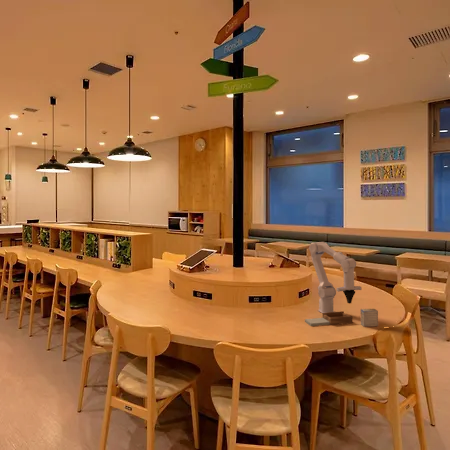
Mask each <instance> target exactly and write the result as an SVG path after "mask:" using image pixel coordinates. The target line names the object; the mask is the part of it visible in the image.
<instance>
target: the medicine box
mask: <svg viewBox="0 0 450 450" xmlns="http://www.w3.org/2000/svg"><path fill="white" fill-rule="evenodd" d="M360 325H361V326H362V327H365V328H366V327H379V310H378V309H376V308H360Z"/></svg>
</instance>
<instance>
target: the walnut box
mask: <svg viewBox="0 0 450 450" xmlns="http://www.w3.org/2000/svg"><path fill="white" fill-rule="evenodd" d="M322 318H324V319H326V320H327V321H329V322H330V326H334V325H335V326H336V325H344V324H345V325H347V323H348V324H353V315H348V314H347V313H345V311H344V310H343V311H341V310H340V311H334V312H328V313H322Z"/></svg>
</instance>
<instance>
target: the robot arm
mask: <svg viewBox="0 0 450 450" xmlns="http://www.w3.org/2000/svg"><path fill="white" fill-rule="evenodd" d="M308 251H309V252H310V258H311V261H312V264H313V267H314V268H313V269H314V270H315V273H316V277H317V279H318V282H319V285H318V286H317V290H318V292H317V293H318V297H319V300H318V309H317V311H318V312H320V313H321V314H323V313H328V312H335V311H334V298H335V296H336V295H337V292H343V294H344V296H345V298H346V302H347V304H352V301H353V298H354V296H355V294H356V291H362V286H360V285H358V286H357V285H355V268H356V267H357V262H356V260H355V259H354V258H353V257H349V256H347V255H345V254H343V252H342V251H336V250H334V248H331V246H329V244H328V243H326V242H325V241H319V242H317V241H316V242H311V243H310V245H309V247H308ZM325 253H326V254H327V255H329V256H331V257H333V260H334V261H335V262H336V263H338V264H339V265H340V267H341V268H342V273H343V286H339V287H336V288H335V287H334V285H333V284H332V282H330V281H329V279H328V276H327V273H326V270H325V267H324V263H323V261H322V259H321V258H322V256H324V254H325Z"/></svg>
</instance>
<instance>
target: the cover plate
mask: <svg viewBox="0 0 450 450" xmlns="http://www.w3.org/2000/svg"><path fill="white" fill-rule="evenodd" d="M304 323H306V324H307V325H308V326H310V327H318V326H319V325H320V326H329V325H330V322H329V321H327V320H326V319H324V318H323V317H317V318H305V319H304ZM330 326H331V325H330Z"/></svg>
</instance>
